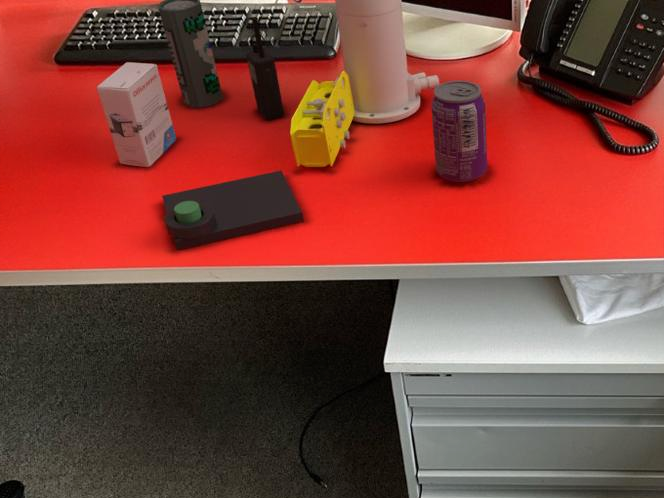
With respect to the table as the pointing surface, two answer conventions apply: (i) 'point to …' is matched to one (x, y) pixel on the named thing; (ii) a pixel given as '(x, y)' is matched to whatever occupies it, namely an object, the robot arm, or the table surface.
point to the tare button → (187, 212)
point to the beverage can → (459, 131)
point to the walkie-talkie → (264, 79)
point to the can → (191, 52)
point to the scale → (233, 209)
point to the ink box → (137, 113)
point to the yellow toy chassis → (322, 122)
